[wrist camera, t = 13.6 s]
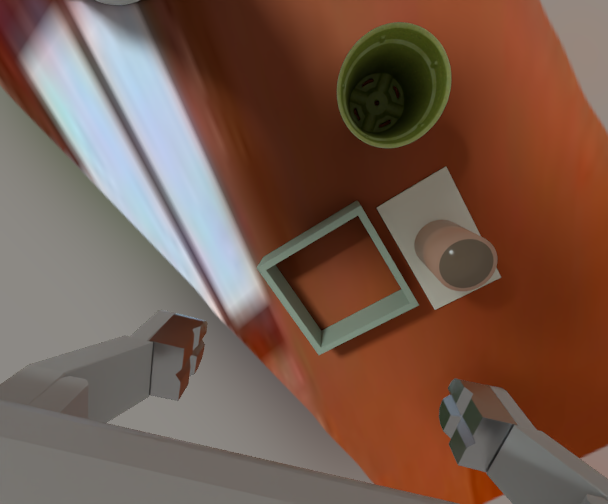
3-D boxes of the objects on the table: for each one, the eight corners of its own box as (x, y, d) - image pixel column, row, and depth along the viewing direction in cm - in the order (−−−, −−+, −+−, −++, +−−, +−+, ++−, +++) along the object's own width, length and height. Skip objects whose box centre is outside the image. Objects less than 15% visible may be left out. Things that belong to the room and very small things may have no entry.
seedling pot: (405, 235, 38) (424, 254, 31) (451, 210, 36) (482, 223, 29) (427, 274, 39) (450, 301, 32) (472, 251, 38) (507, 273, 31)
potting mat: (376, 207, 37) (376, 207, 37) (445, 166, 35) (446, 166, 35) (434, 309, 41) (434, 309, 40) (500, 276, 39) (501, 277, 39)
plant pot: (433, 121, 34) (469, 110, 26) (357, 164, 36) (367, 167, 28) (398, 36, 32) (424, -5, 23) (318, 88, 34) (316, 66, 25)
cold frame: (263, 257, 40) (256, 267, 36) (356, 200, 37) (360, 205, 33) (319, 337, 43) (318, 355, 39) (410, 290, 40) (419, 305, 36)
